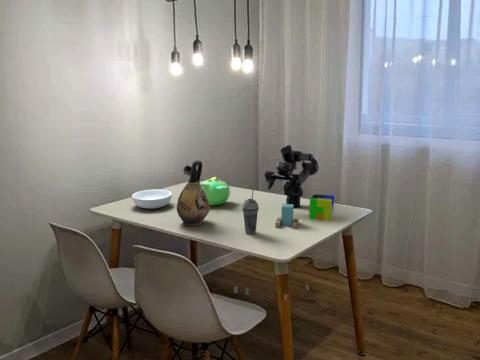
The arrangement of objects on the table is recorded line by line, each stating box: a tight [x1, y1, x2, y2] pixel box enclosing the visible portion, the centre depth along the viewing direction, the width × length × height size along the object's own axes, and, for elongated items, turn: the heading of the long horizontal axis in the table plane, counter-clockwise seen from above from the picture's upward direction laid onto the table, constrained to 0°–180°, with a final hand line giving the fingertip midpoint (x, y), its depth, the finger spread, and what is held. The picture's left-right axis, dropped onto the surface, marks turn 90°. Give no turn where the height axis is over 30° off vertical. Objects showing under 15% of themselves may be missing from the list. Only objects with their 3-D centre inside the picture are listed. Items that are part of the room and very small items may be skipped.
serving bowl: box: [131, 189, 173, 210], centre depth 257 cm, size 21×21×7 cm
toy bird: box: [200, 176, 231, 206], centre depth 258 cm, size 18×17×15 cm
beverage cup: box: [241, 188, 260, 236], centre depth 212 cm, size 7×7×20 cm
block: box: [281, 203, 294, 227], centre depth 225 cm, size 5×5×9 cm
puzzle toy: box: [309, 193, 335, 221], centre depth 235 cm, size 10×10×10 cm
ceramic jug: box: [176, 159, 210, 227], centre depth 226 cm, size 17×15×30 cm
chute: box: [275, 216, 299, 229], centre depth 224 cm, size 9×10×2 cm
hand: (277, 190), depth 234 cm, fingers open, 9 cm apart
